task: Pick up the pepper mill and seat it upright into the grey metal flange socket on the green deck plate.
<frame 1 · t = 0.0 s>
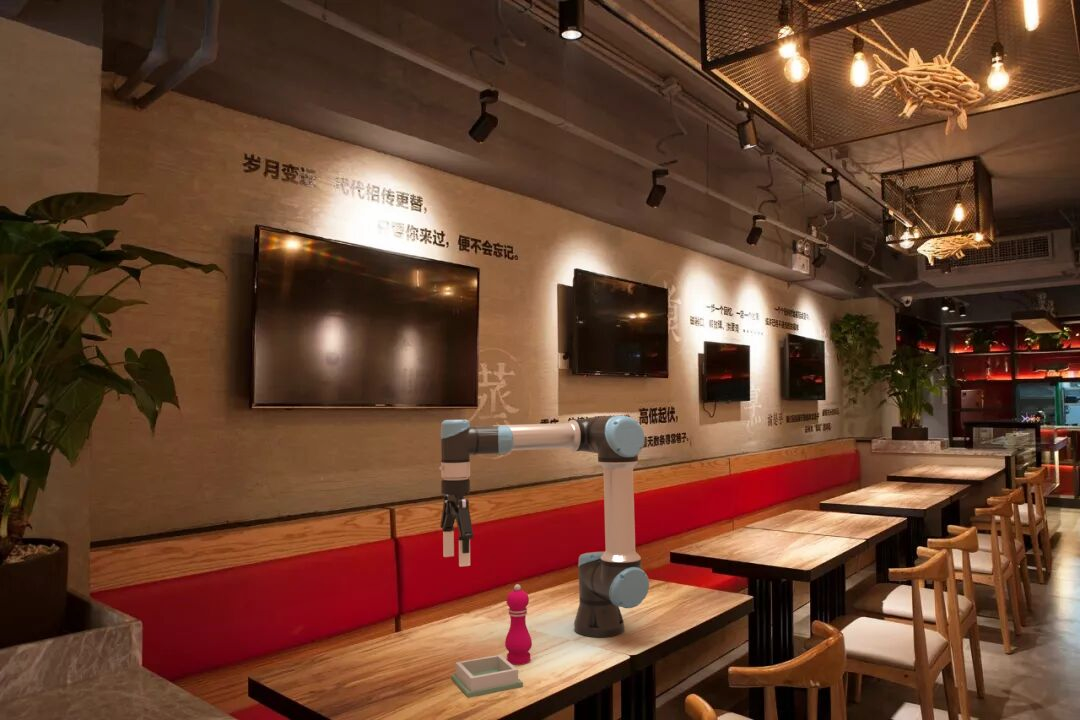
hand: (456, 561, 182), 28 cm above the table, fingers open, 13 cm apart
pepper mill: (518, 661, 187), on the table
deck socket: (486, 682, 172), on the table
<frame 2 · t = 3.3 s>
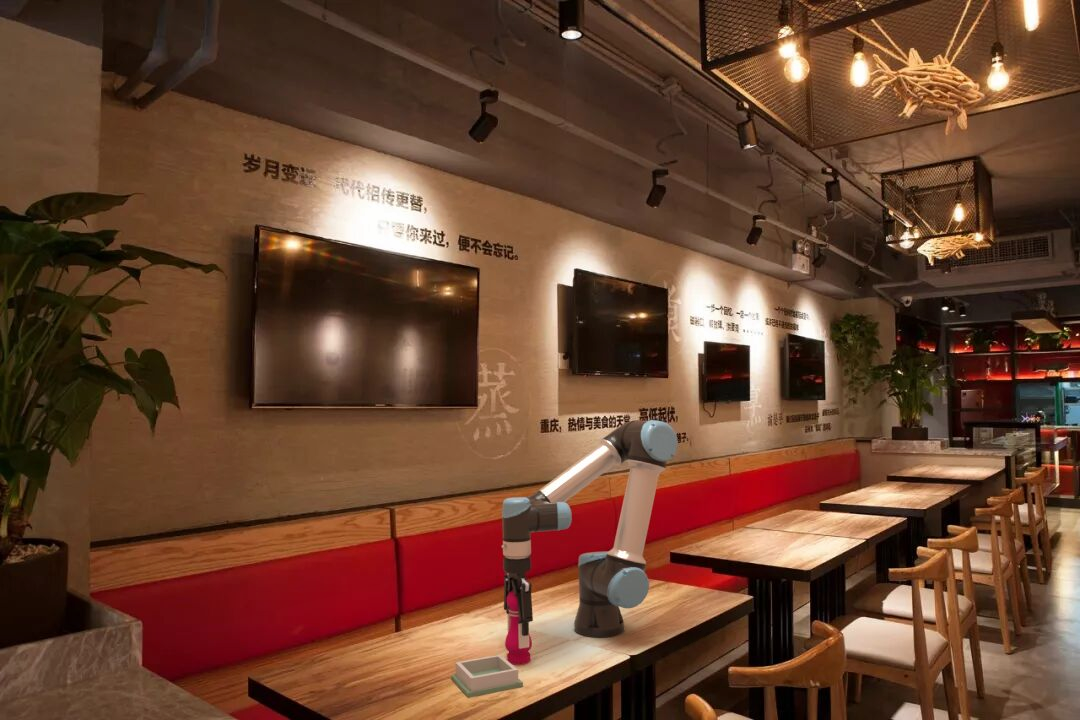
hand: (518, 643, 187), 5 cm above the table, fingers closed on pepper mill, 7 cm apart
pepper mill: (518, 661, 187), on the table, touching gripper
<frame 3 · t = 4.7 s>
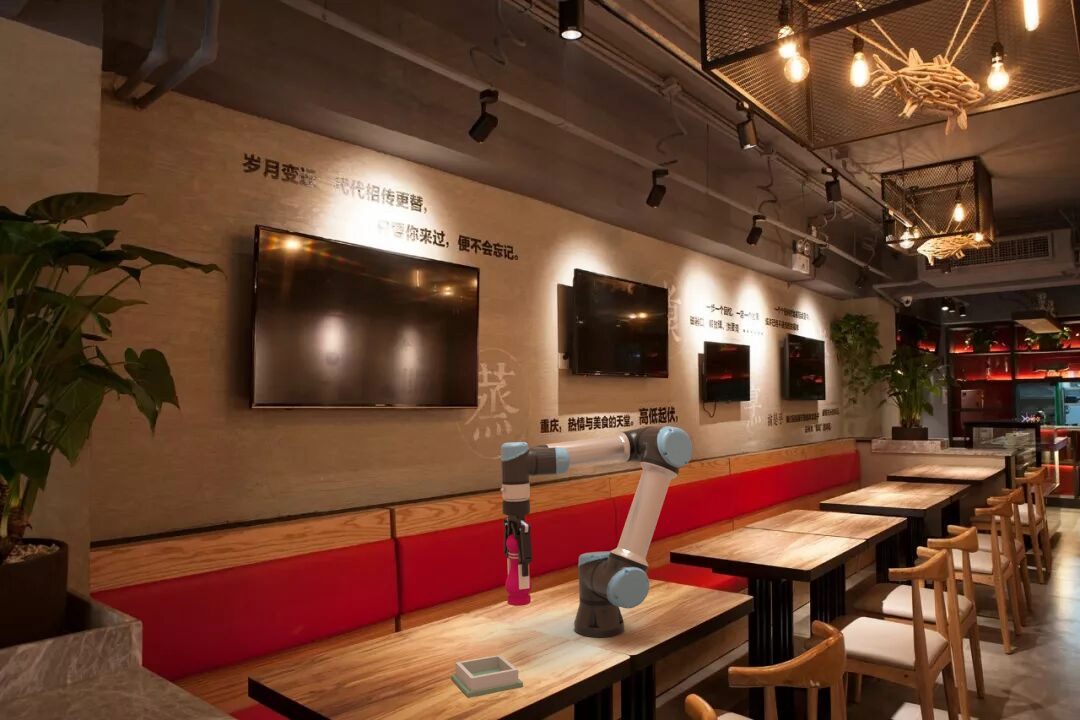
hand: (518, 585, 188), 20 cm above the table, fingers closed on pepper mill, 7 cm apart
pepper mill: (519, 603, 188), point 15 cm above the table, touching gripper
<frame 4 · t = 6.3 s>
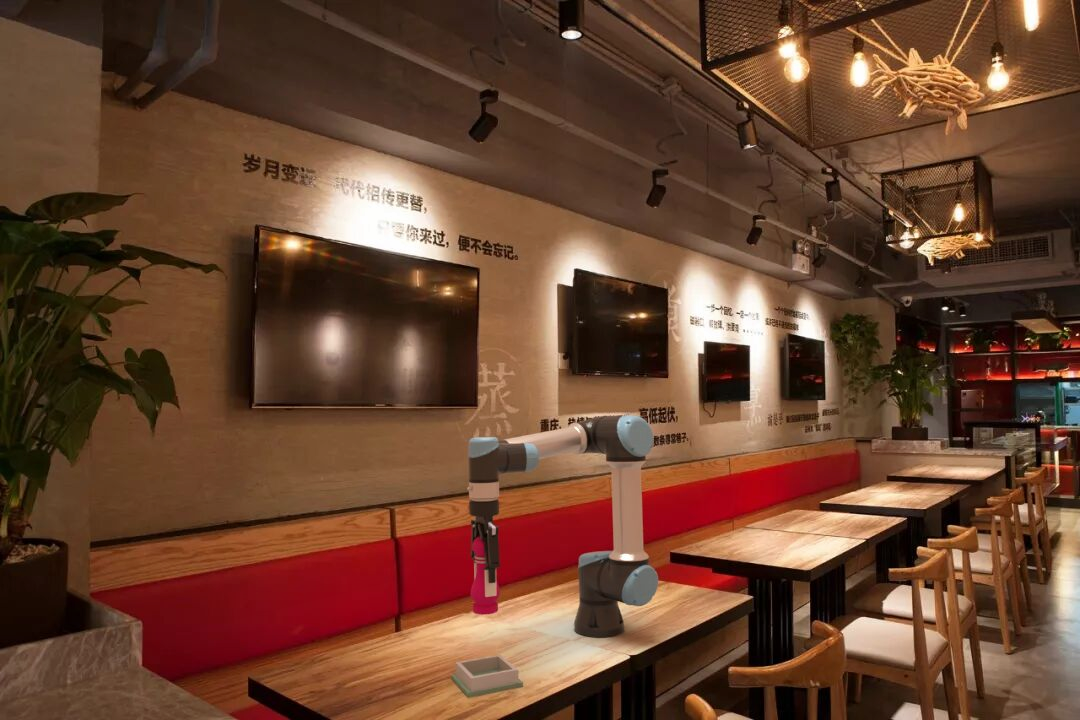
hand: (485, 592, 174), 22 cm above the table, fingers closed on pepper mill, 7 cm apart
pepper mill: (485, 612, 173), point 17 cm above the table, touching gripper
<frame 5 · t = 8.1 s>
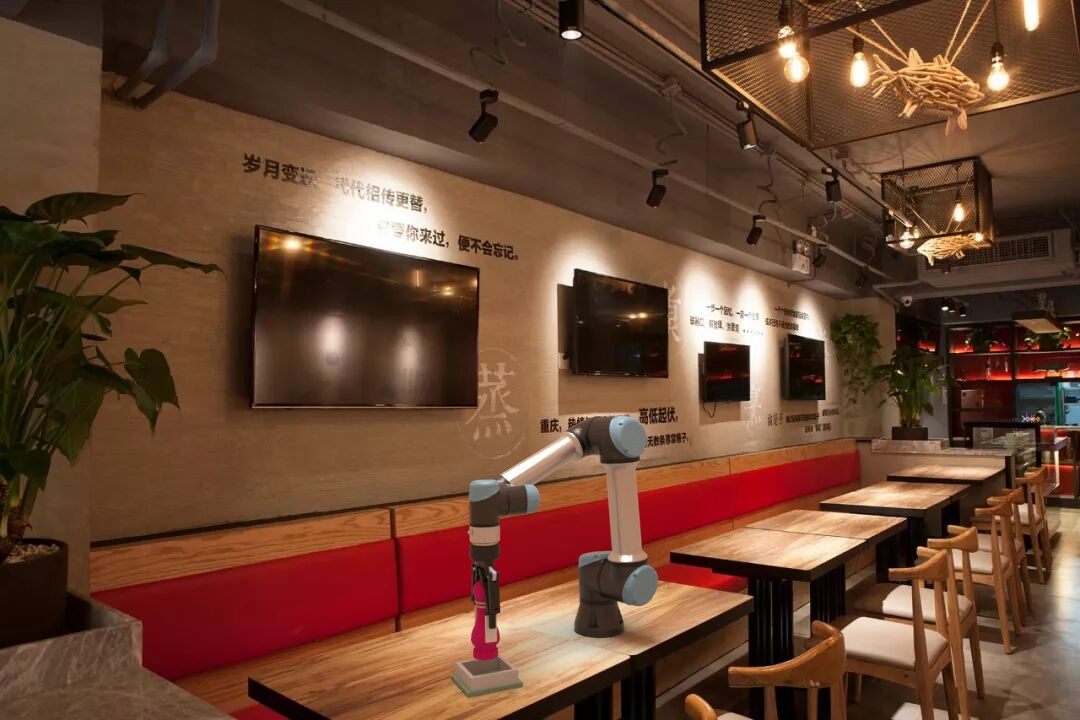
hand: (485, 637, 173), 11 cm above the table, fingers closed on pepper mill, 7 cm apart
pepper mill: (485, 656, 172), point 6 cm above the table, touching gripper
when the fingers open (6 cm above the table, at t = 9.5 s): pepper mill stays where it is, resting on deck socket.
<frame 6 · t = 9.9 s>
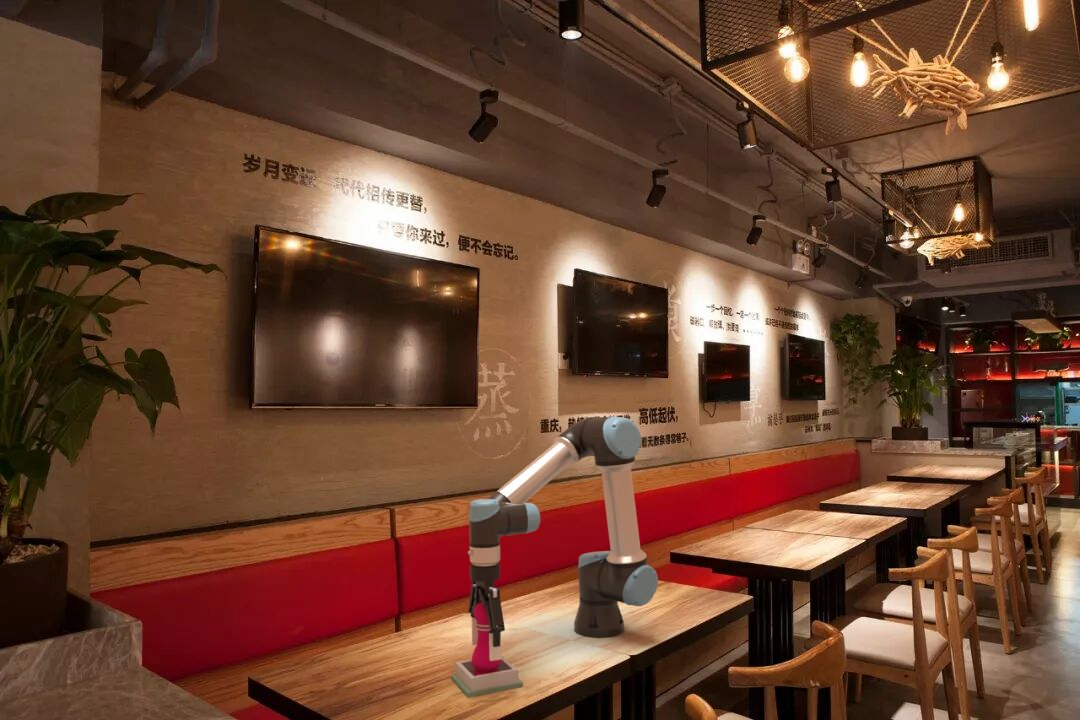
hand: (486, 651, 172), 7 cm above the table, fingers open, 12 cm apart
pepper mill: (486, 679, 172), point 1 cm above the table, touching deck socket
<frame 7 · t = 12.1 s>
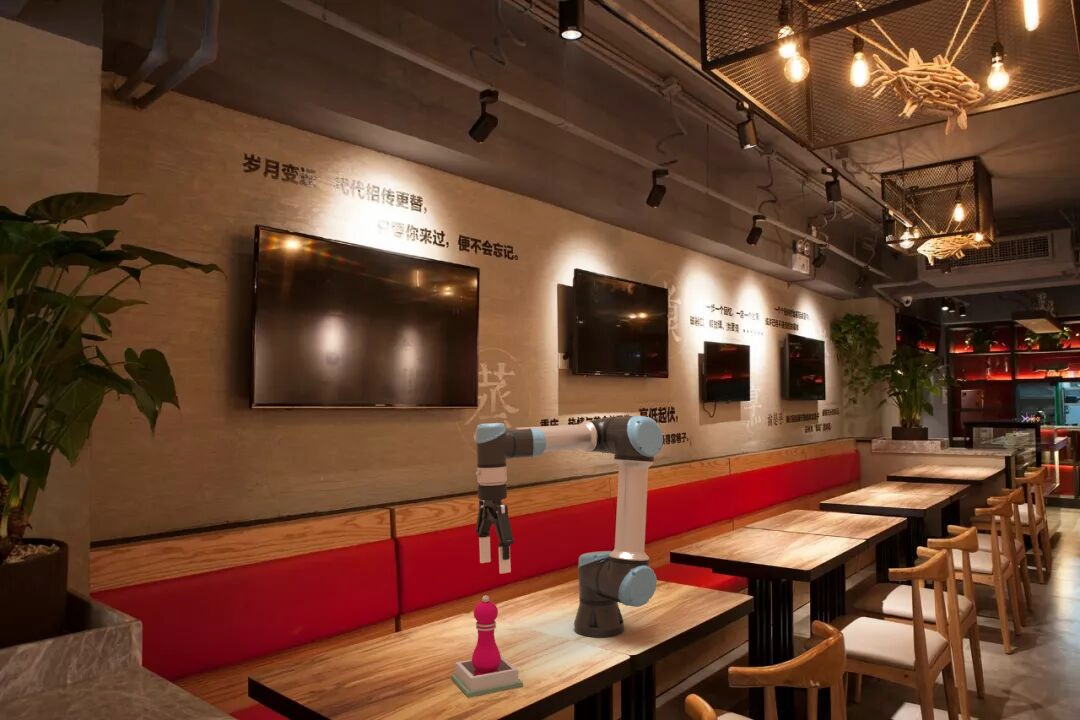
hand: (494, 567, 178), 27 cm above the table, fingers open, 13 cm apart
nothing on the table moved.
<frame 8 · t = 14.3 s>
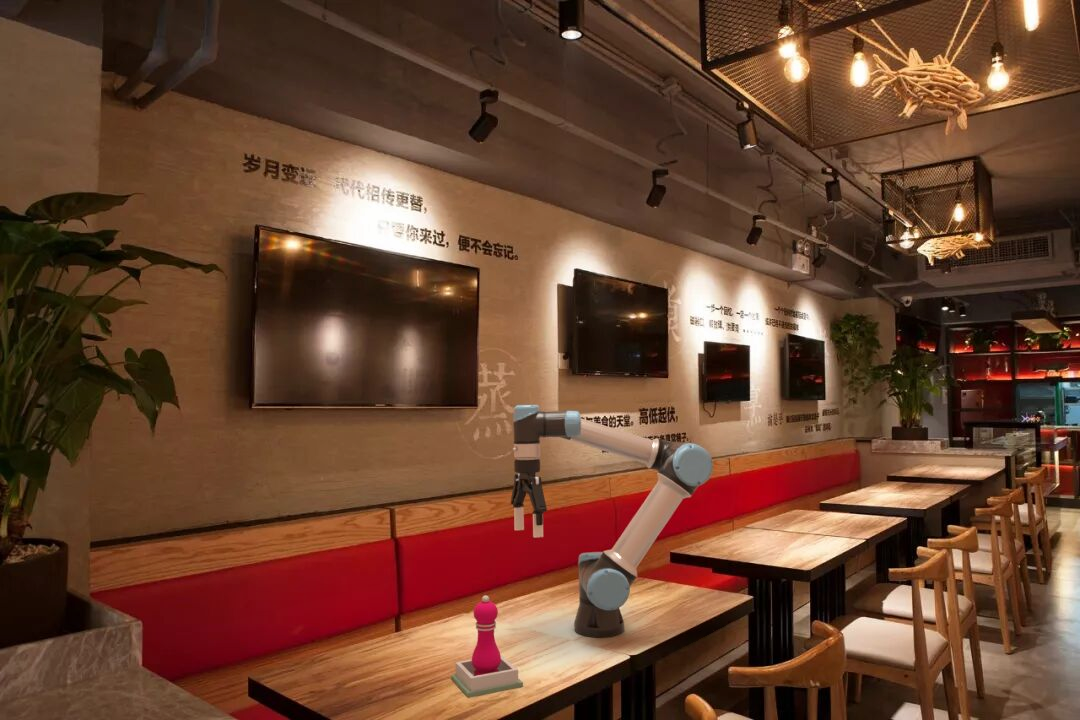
hand: (528, 533, 199), 32 cm above the table, fingers open, 13 cm apart
nothing on the table moved.
at the end: pepper mill 0.1 cm from the deck socket (horizontally); pepper mill tilted 0°; pepper mill point 0.8 cm above the table; pepper mill touching deck socket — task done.
